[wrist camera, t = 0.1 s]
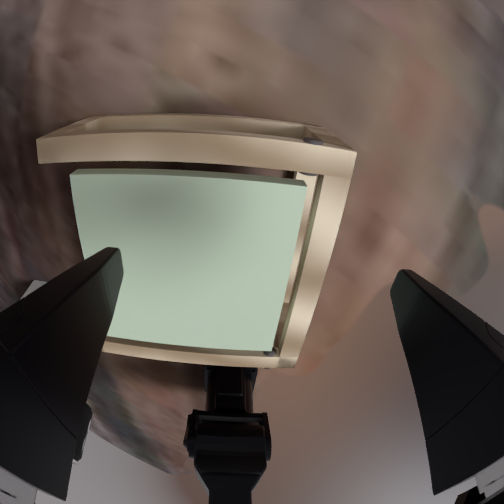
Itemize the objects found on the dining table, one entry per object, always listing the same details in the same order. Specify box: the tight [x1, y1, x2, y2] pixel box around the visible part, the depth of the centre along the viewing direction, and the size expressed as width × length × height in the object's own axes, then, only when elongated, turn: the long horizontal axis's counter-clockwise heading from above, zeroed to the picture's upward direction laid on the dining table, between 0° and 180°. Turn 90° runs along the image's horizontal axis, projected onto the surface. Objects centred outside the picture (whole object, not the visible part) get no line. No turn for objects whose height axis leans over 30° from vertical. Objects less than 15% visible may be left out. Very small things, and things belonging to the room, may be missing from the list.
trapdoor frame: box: [36, 113, 357, 369], centre depth 21 cm, size 18×18×8 cm
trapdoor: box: [70, 168, 307, 351], centre depth 18 cm, size 13×13×1 cm
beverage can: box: [72, 404, 92, 464], centre depth 38 cm, size 7×7×12 cm
